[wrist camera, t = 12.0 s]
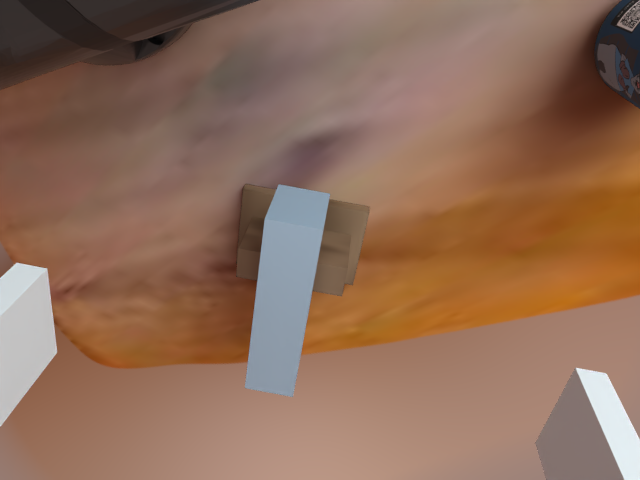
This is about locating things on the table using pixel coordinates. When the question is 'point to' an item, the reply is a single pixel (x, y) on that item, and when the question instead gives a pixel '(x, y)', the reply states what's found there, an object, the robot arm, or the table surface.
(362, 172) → the table surface
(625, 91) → the soda can
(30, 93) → the table surface
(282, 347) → the bar
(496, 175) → the table surface
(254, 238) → the ridge stand
